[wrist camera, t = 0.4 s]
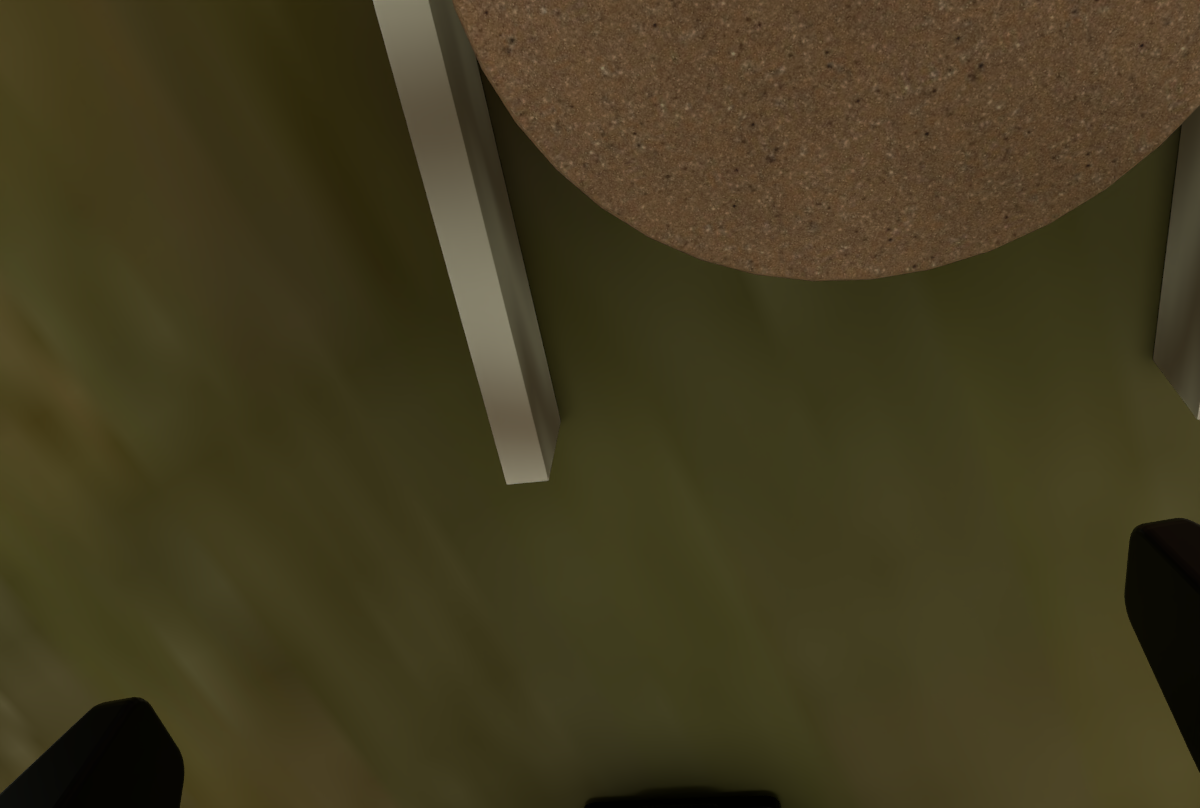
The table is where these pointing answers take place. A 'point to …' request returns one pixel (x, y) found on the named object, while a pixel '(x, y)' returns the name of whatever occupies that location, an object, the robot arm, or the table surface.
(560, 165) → the lidded jar
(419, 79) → the trap lane
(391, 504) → the table surface
